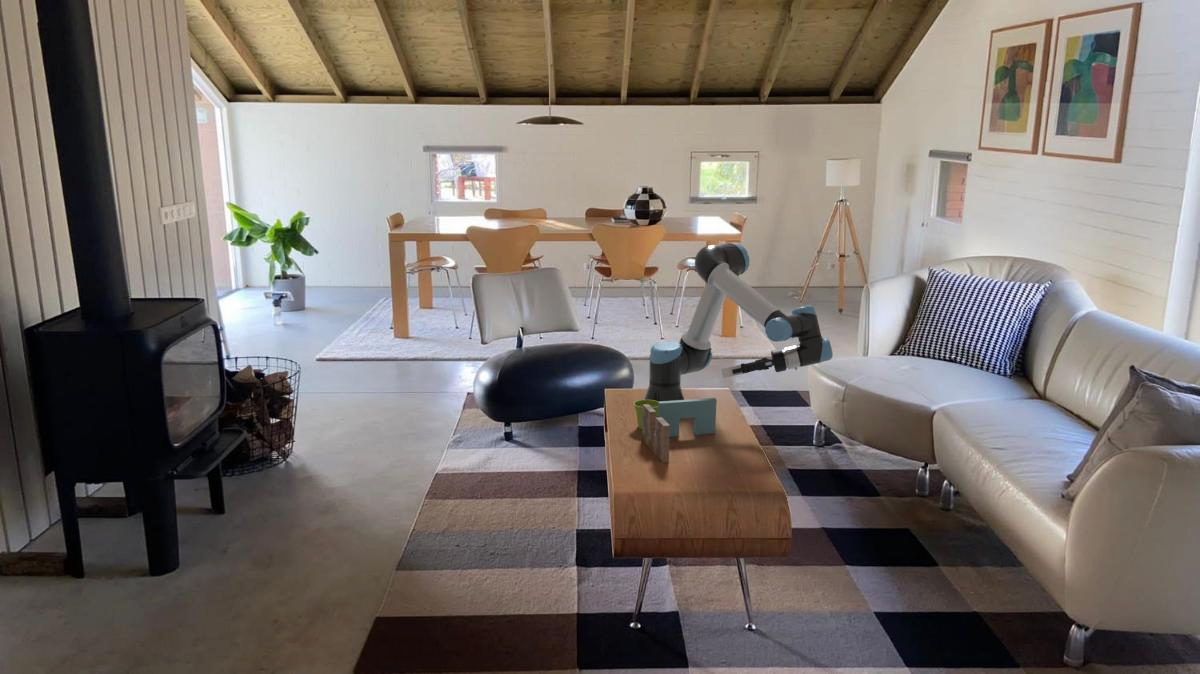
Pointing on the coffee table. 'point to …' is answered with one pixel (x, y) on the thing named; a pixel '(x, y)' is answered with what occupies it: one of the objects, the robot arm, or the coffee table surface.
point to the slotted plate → (689, 414)
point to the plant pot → (639, 409)
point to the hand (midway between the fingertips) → (722, 373)
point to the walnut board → (655, 433)
